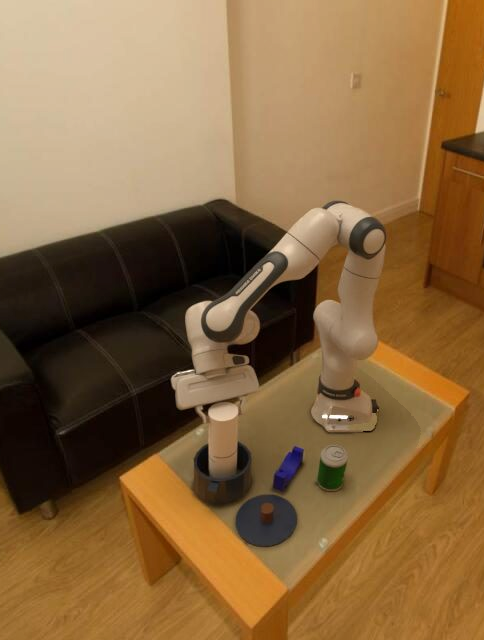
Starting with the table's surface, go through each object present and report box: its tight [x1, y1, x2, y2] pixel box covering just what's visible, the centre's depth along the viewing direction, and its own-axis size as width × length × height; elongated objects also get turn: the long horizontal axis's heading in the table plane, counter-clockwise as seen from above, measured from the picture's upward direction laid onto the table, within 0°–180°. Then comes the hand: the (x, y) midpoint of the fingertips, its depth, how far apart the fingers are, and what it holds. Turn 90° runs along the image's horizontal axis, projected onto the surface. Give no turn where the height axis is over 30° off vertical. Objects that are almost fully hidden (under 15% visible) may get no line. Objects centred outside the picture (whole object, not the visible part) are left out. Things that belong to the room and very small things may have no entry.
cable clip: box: [272, 445, 305, 493], centre depth 139 cm, size 12×4×6 cm, turn 160°
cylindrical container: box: [207, 401, 239, 479], centre depth 128 cm, size 7×7×25 cm
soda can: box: [316, 444, 349, 492], centre depth 138 cm, size 8×8×12 cm
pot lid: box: [235, 493, 298, 548], centre depth 126 cm, size 15×15×5 cm
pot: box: [193, 440, 253, 506], centre depth 132 cm, size 15×20×10 cm
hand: (224, 419), depth 123 cm, fingers closed on cylindrical container, 7 cm apart
